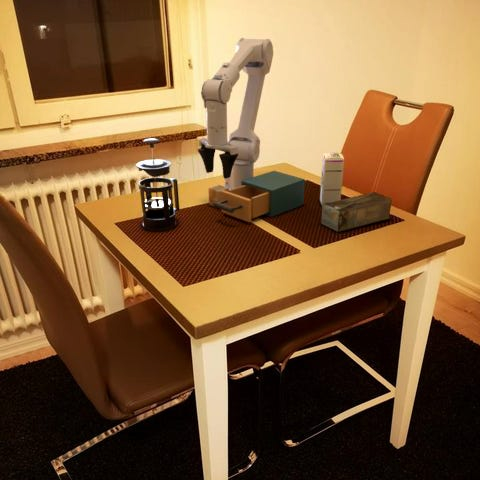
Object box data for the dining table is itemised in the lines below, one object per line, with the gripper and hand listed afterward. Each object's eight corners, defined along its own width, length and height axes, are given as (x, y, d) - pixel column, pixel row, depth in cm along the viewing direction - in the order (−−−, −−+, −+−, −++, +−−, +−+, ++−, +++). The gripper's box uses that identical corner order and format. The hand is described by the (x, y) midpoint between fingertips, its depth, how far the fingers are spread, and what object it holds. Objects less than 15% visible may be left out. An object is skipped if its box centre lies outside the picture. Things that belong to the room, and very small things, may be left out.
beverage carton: (319, 223, 138) (321, 200, 134) (371, 211, 146) (374, 189, 142) (336, 233, 132) (339, 209, 129) (390, 220, 140) (394, 197, 136)
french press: (151, 234, 132) (142, 146, 119) (134, 224, 138) (123, 139, 125) (188, 223, 138) (182, 138, 125) (169, 214, 144) (162, 132, 131)
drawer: (236, 226, 134) (235, 204, 131) (208, 216, 141) (208, 194, 137) (280, 209, 145) (281, 189, 141) (253, 200, 151) (253, 180, 148)
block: (209, 204, 151) (208, 188, 148) (219, 201, 153) (219, 184, 150) (218, 208, 148) (218, 191, 145) (229, 204, 151) (229, 188, 148)
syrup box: (340, 206, 149) (345, 157, 141) (320, 206, 149) (325, 157, 141) (337, 199, 154) (342, 152, 146) (318, 199, 154) (322, 152, 146)
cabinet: (271, 217, 142) (272, 190, 138) (241, 206, 150) (241, 180, 145) (303, 204, 150) (304, 179, 146) (273, 195, 158) (274, 170, 154)
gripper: (189, 124, 140) (192, 172, 148) (224, 133, 132) (225, 183, 139) (208, 121, 144) (209, 167, 152) (242, 128, 136) (242, 177, 143)
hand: (218, 174), depth 146 cm, fingers open, 7 cm apart
